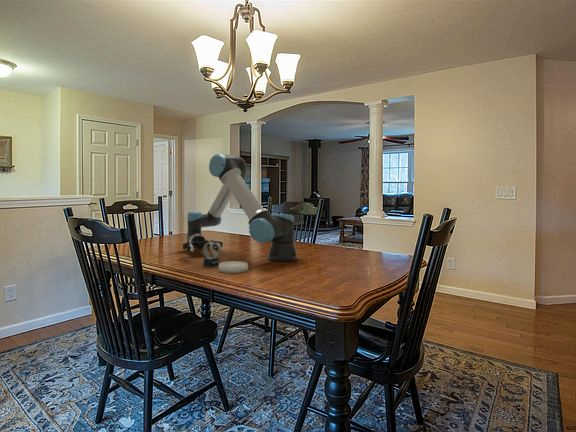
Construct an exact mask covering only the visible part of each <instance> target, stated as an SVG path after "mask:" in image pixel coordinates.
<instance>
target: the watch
mask: <svg viewBox="0 0 576 432" xmlns="http://www.w3.org/2000/svg"><path fill="white" fill-rule="evenodd" d="M209 243H210V247H209V249H210V251H211V252H212V253H213V257H212V256H211V255H210V253H209V250H208V247H207V246H208V244H209ZM220 251H221V250H220V248H219V246H218V244H216V243H214V242H210V241H209V242H208V243H206V244H205V245H204V248H203V253H204V256H205V258H204V259H203V267H208V268H212V267H216V266H219V264H220V261H219V260H220V259H219V258H218V256H219V254H220Z"/></svg>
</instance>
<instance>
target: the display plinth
mask: <svg viewBox="0 0 576 432" xmlns="http://www.w3.org/2000/svg"><path fill="white" fill-rule="evenodd" d="M248 270H249V263H248V262H246V261H239V260H238V261H237V260H235V261H234V260H231V261H229V260H228V261H222V262H219V265H218V272H220V273H223V274H224V273H225V274H240V273H245V272H247V271H248Z"/></svg>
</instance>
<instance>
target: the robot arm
mask: <svg viewBox="0 0 576 432" xmlns="http://www.w3.org/2000/svg"><path fill="white" fill-rule="evenodd" d="M208 163H209V165H208V170H209V173H210V175H212V176H213V177H215V178H218V179H219V180H220V182H221V183H222V186H221V188H220V190H219V192H218V193H217V195H216V197H215V199H213V200H214V201H213V202H212V205H211V206H210V207H209V209H208V211H207V213H203V214H202V212H201V211H197V210H196V211H195V210H194V211H189V212H187V235H186V242H185V243H183V244H182V250H186V251H187V252H188V251H190V252H192V253H193V252H194V249H195V250H202V249H204V245H205V244H206V243H208V242H214V243H216V244H218V246H219V248H220V251H221V250H222V248H223V241H220V240H219V241H218V240H213V239H210V240H207V239H206V238H205V237H204V236H203V235H202V228H209V227H215V226H220V224H221V223H222V214H223V213H224V211H225V209H226V207H227V206H228V204H229V202H230V200H231V199H232V196H233V197H234V198H235V199H236V201H237V203H238V204H239V206H240V207H241V209H242V210H243V212H244V214H245V215H246V216H247V218H248V230H249V231H248V233H249V236H250V237H251V238H252V239H253V240H254V241H255V242H257V243H261V244H263V243H266V244H267V243H269V242H270V243H271V244H270V248H269V251H268V253H267V259H268V260H270V261H275V262H292V261H296V260H298V253H297V249H296V246H295V225H296V224H295V223H296V222H295V216H294V215H291V214H280V213H272V214H271V213H270V212H269V210H267V209H264V207H262V205H261V204H260V202H259V200H258V199H257V197H256V196H255V195H254V193H253V192H252V189H251V188H250V187H249V186H248V184H247V183H246V182H245V180H244V179H245V178H246V176H247V172H248V171H247V170H248V166H247V162H246V160H245V159H244V158H243V157H241V156H239V155H233V154H226V153H225V154H224V153H217V154H214V155H213V156H211V159H210V161H209V162H208ZM208 247H209V248H210V243H209V244H208V246H207V248H208Z"/></svg>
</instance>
